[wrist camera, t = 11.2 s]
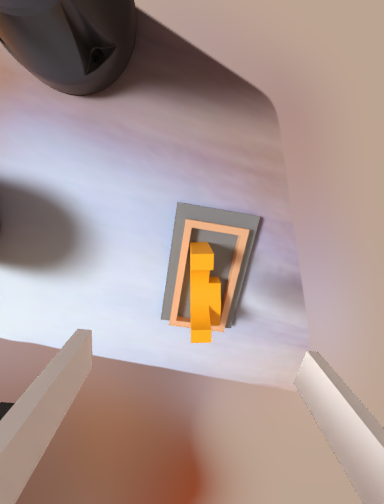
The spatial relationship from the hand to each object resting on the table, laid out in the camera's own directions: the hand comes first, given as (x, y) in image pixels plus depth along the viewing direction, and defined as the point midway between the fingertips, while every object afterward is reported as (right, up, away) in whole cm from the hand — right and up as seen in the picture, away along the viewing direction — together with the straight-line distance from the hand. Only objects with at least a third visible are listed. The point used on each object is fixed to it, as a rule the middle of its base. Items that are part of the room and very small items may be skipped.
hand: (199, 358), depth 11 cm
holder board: (+2, +4, +17) cm, 18 cm away
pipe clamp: (+1, +2, +17) cm, 17 cm away
